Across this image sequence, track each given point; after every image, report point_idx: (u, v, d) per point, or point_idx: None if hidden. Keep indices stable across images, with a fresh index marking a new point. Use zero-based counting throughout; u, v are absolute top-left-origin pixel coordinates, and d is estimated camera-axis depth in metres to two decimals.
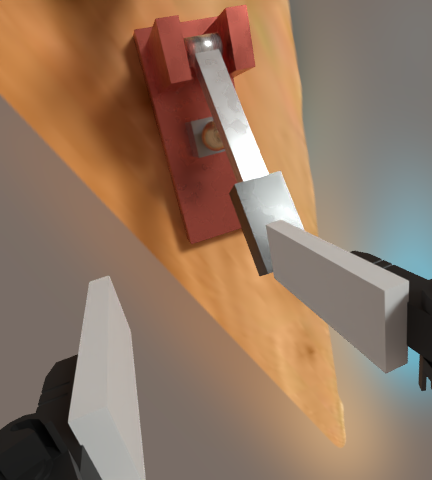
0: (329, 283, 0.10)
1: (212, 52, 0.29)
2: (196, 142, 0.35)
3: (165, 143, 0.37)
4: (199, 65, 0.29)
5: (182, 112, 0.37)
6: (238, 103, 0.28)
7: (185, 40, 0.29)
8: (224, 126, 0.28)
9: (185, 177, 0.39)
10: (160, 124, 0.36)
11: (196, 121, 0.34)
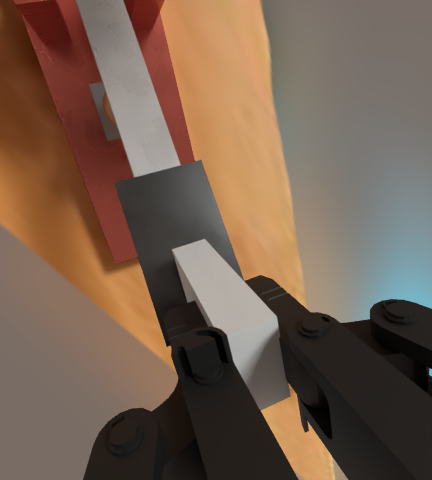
0: None
1: None
2: (101, 117, 0.23)
3: (62, 120, 0.25)
4: None
5: (85, 73, 0.25)
6: (135, 42, 0.17)
7: None
8: (106, 81, 0.16)
9: (98, 170, 0.27)
10: (51, 91, 0.24)
11: (98, 84, 0.23)
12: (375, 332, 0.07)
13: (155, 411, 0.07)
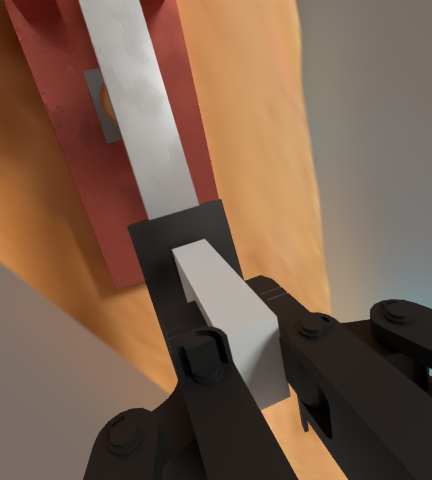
0: None
1: None
2: (99, 113, 0.18)
3: (51, 117, 0.20)
4: None
5: (79, 59, 0.20)
6: (147, 42, 0.13)
7: None
8: (113, 96, 0.13)
9: (96, 179, 0.22)
10: (37, 81, 0.19)
11: (95, 71, 0.18)
12: (374, 331, 0.07)
13: (155, 411, 0.07)
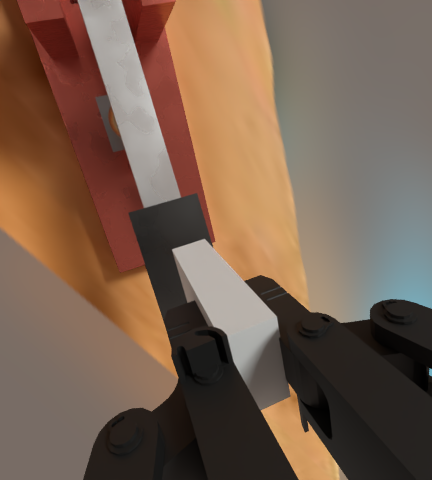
0: None
1: None
2: (107, 129, 0.24)
3: (69, 132, 0.26)
4: (80, 7, 0.18)
5: (91, 86, 0.25)
6: (143, 80, 0.19)
7: None
8: (118, 119, 0.19)
9: (104, 181, 0.28)
10: (58, 104, 0.25)
11: (104, 97, 0.23)
12: (375, 331, 0.07)
13: (155, 411, 0.07)
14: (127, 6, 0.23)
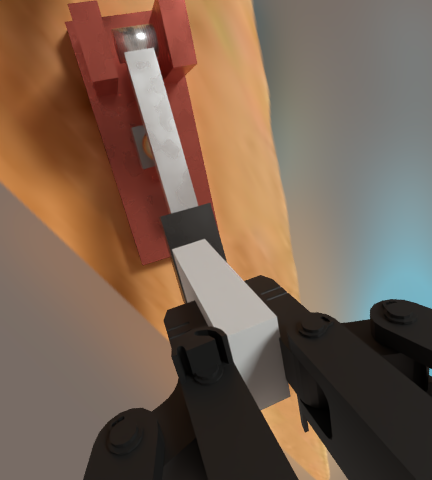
0: None
1: (145, 52, 0.25)
2: (139, 151, 0.31)
3: (107, 152, 0.33)
4: (129, 68, 0.25)
5: (126, 117, 0.32)
6: (172, 120, 0.26)
7: (113, 33, 0.24)
8: (154, 148, 0.25)
9: (132, 190, 0.34)
10: (100, 130, 0.32)
11: (138, 127, 0.30)
12: (374, 331, 0.07)
13: (155, 411, 0.07)
14: (157, 58, 0.30)
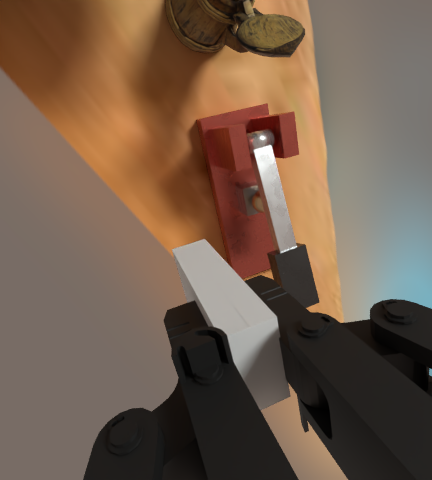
0: None
1: (266, 148, 0.38)
2: (246, 204, 0.44)
3: (219, 202, 0.46)
4: (256, 159, 0.38)
5: (233, 178, 0.45)
6: (281, 191, 0.39)
7: (247, 138, 0.37)
8: (270, 210, 0.39)
9: (233, 228, 0.48)
10: (215, 188, 0.45)
11: (247, 188, 0.43)
12: (374, 332, 0.07)
13: (155, 411, 0.07)
14: None
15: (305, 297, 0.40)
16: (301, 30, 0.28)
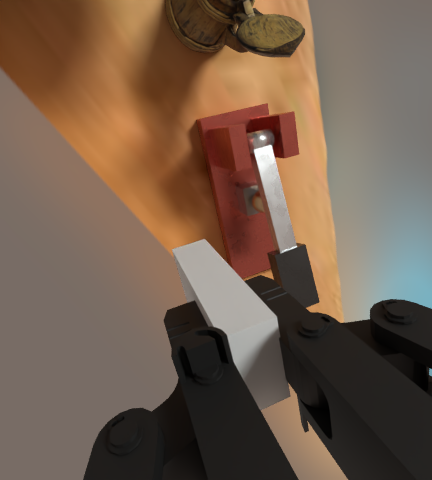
0: None
1: (266, 148, 0.38)
2: (246, 204, 0.44)
3: (219, 202, 0.46)
4: (256, 159, 0.38)
5: (233, 178, 0.45)
6: (281, 191, 0.39)
7: (247, 138, 0.37)
8: (270, 210, 0.39)
9: (233, 228, 0.48)
10: (216, 188, 0.45)
11: (247, 188, 0.43)
12: (374, 332, 0.07)
13: (155, 411, 0.07)
14: None
15: (305, 297, 0.40)
16: (301, 30, 0.28)
